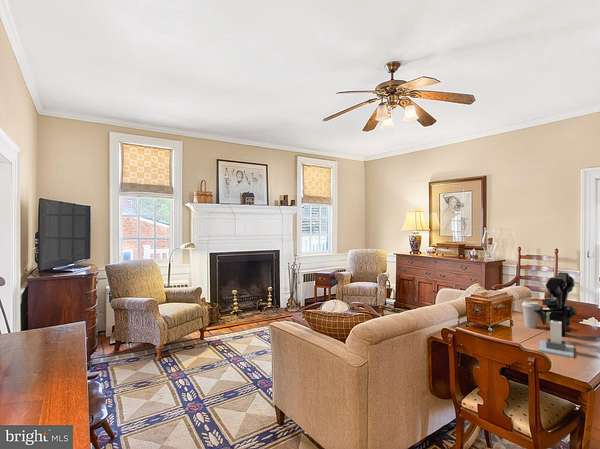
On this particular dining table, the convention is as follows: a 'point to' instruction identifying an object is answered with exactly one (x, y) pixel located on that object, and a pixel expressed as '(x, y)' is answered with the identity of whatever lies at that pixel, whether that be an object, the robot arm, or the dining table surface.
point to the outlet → (556, 348)
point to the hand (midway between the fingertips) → (553, 325)
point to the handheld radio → (549, 320)
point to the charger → (556, 332)
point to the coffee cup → (530, 314)
